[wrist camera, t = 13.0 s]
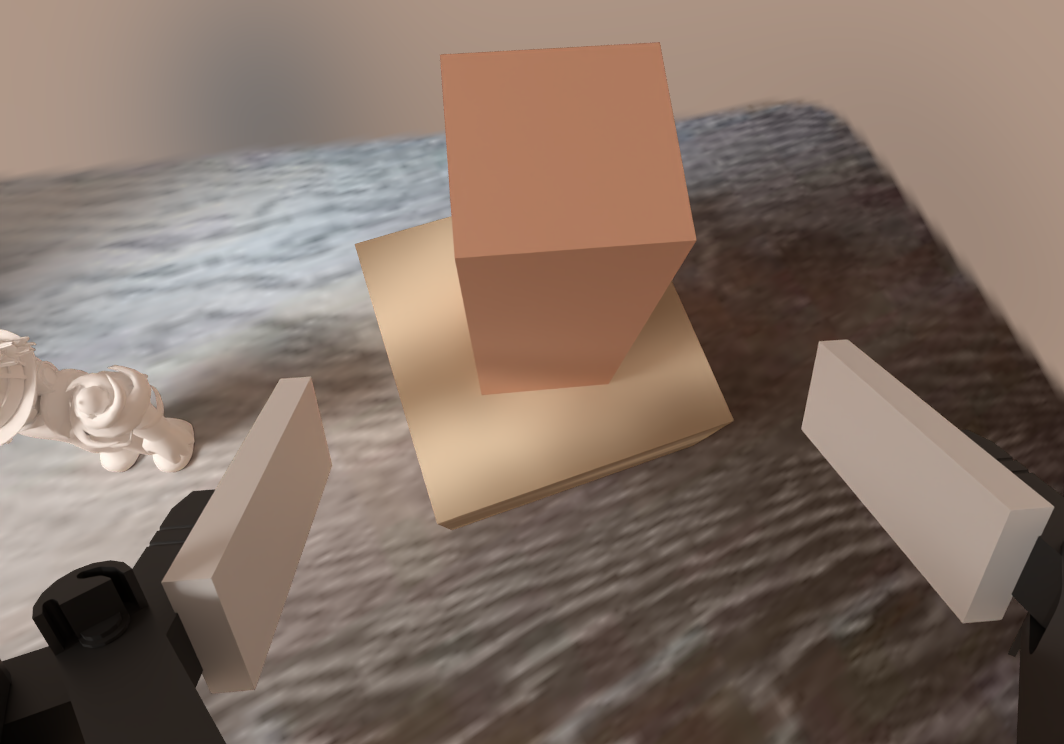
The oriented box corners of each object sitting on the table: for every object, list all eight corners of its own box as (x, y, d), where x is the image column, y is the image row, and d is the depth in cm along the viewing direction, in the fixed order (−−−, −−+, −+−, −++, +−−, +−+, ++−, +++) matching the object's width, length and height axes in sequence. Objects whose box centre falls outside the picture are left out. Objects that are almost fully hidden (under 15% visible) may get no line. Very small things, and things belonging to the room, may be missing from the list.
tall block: (481, 395, 24) (454, 258, 13) (472, 277, 25) (439, 54, 14) (608, 383, 24) (696, 240, 13) (592, 267, 26) (659, 42, 14)
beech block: (383, 301, 32) (354, 243, 26) (602, 235, 33) (621, 167, 27) (452, 530, 28) (437, 523, 23) (691, 446, 30) (734, 420, 24)
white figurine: (253, 408, 29) (86, 313, 18) (237, 492, 28) (47, 447, 17) (63, 395, 29) (-229, 291, 18) (39, 479, 28) (-290, 425, 17)
